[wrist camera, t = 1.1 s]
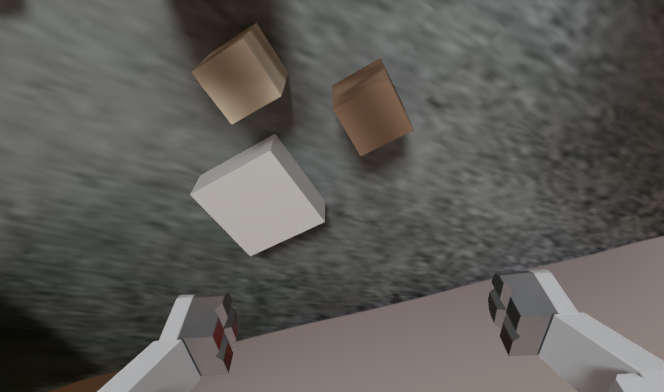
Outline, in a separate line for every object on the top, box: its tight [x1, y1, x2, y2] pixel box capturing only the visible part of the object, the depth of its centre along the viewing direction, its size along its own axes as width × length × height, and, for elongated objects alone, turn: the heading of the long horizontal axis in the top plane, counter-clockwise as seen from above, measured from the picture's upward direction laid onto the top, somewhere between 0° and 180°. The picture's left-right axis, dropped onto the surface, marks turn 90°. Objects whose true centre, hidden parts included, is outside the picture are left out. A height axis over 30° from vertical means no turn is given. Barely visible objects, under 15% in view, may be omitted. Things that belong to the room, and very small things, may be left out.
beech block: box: [191, 22, 288, 125], centre depth 32 cm, size 5×5×6 cm
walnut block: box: [333, 58, 414, 156], centre depth 34 cm, size 5×5×6 cm
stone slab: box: [190, 134, 325, 256], centre depth 41 cm, size 10×10×4 cm
